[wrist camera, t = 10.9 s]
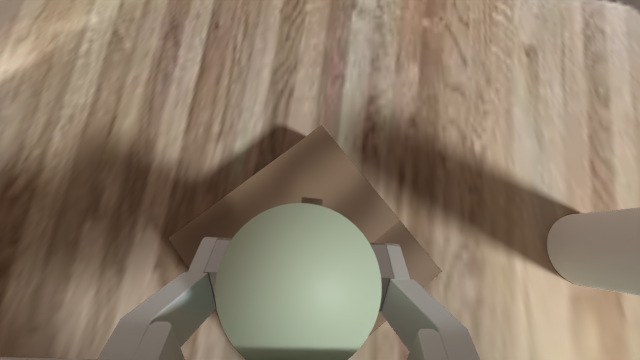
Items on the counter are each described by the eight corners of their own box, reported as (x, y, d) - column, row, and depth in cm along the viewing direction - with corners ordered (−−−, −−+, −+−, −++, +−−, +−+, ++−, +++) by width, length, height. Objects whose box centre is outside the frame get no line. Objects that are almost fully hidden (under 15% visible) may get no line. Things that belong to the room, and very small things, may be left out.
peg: (354, 265, 17) (418, 299, 7) (296, 314, 17) (282, 421, 7) (309, 207, 18) (314, 169, 8) (251, 253, 17) (178, 271, 7)
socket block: (420, 266, 30) (441, 271, 25) (290, 379, 28) (286, 409, 23) (319, 142, 32) (321, 125, 27) (190, 238, 30) (167, 238, 25)
